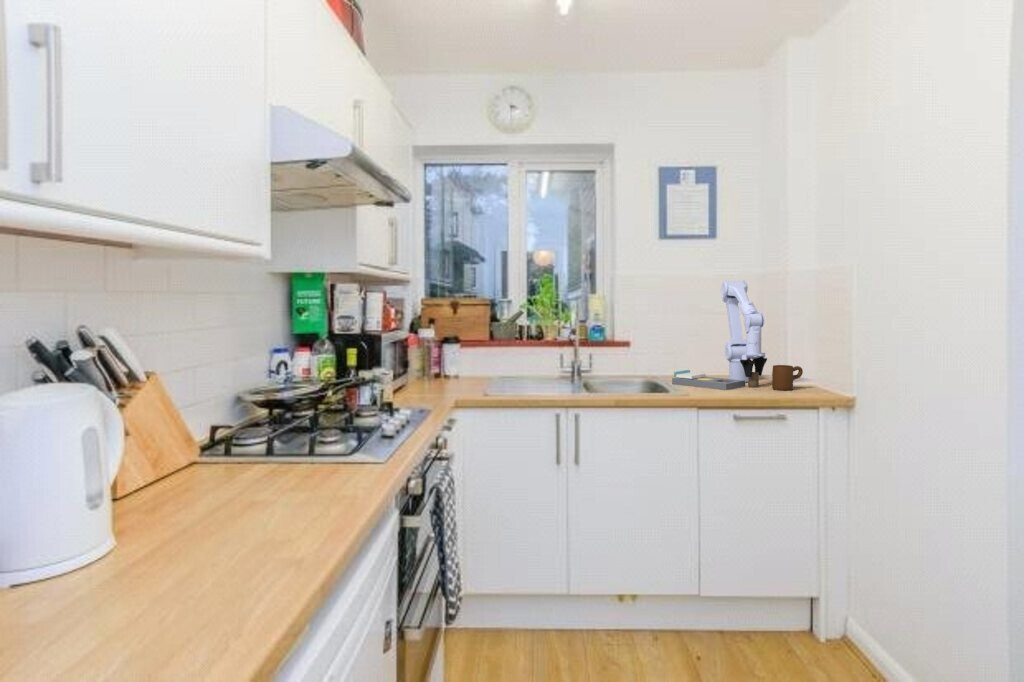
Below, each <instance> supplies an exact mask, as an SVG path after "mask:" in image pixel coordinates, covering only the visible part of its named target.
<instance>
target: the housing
mask: <svg viewBox="0 0 1024 682" xmlns="http://www.w3.org/2000/svg"><path fill="white" fill-rule="evenodd" d="M671 384H672V385H678V386H688V387H695V388H697V387H698V388H705V389H711V390H712V389H713V390H714V389H715V390H721V391H722V390H723V391H728V390H735V389H738V388H744V387H746V382H745V380H735V379H729V378H723V377H713V376H706V377H700V378H694V379H689V378H679V377H672V378H671Z"/></svg>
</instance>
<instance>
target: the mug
mask: <svg viewBox="0 0 1024 682" xmlns="http://www.w3.org/2000/svg"><path fill="white" fill-rule="evenodd" d="M795 371H798V372H797V374H794V372H795ZM803 372H804V371H803V368H802V366H798V365H795V366H793V365H789V364H788V365H787V364H776V365H772V373H771V374H772V376H771V377H772V378H771V381H772V386H771V387H772V390H775V391H782V392H787V391H789V392H790V391H792V390H793V389H794V381H795V380H797V379H800V378H801V377H802V375H803Z"/></svg>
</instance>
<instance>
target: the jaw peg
mask: <svg viewBox="0 0 1024 682" xmlns="http://www.w3.org/2000/svg"><path fill="white" fill-rule="evenodd" d="M759 380H760V376H759V372H755V371H752V376H751V377H748V382H747V387H748V388H752V389H753V388H754V389H757V388H759V387H760V385H759V384H760V383H759Z"/></svg>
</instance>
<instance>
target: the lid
mask: <svg viewBox="0 0 1024 682" xmlns="http://www.w3.org/2000/svg"><path fill="white" fill-rule="evenodd" d="M706 375H707V374H706V373H699V372H692V371H691V370H690V369H685V370H684V369H683V370H678V371H673V378H677V377H679V378H689V379H694V378H700V377H707V376H706Z"/></svg>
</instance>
